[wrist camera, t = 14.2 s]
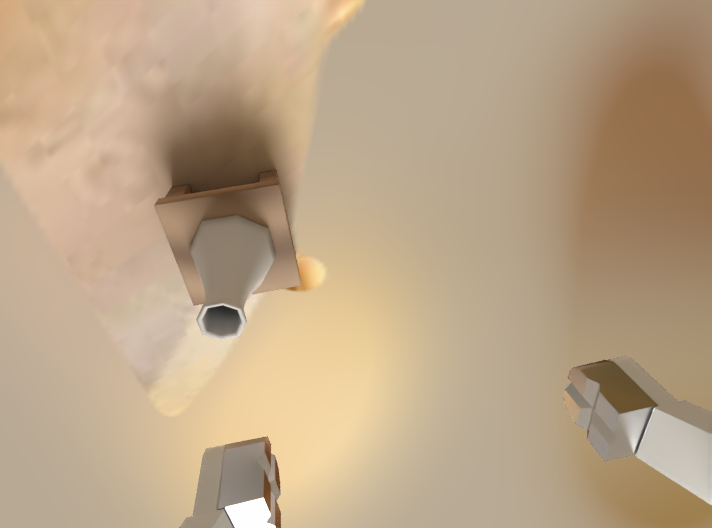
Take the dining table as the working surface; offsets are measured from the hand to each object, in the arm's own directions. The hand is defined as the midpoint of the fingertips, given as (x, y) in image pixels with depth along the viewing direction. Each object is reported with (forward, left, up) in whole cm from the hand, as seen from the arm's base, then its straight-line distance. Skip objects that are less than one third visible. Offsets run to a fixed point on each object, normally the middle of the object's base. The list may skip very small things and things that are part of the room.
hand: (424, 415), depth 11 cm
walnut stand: (+7, -9, -31) cm, 33 cm away
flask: (+7, -9, -26) cm, 29 cm away
